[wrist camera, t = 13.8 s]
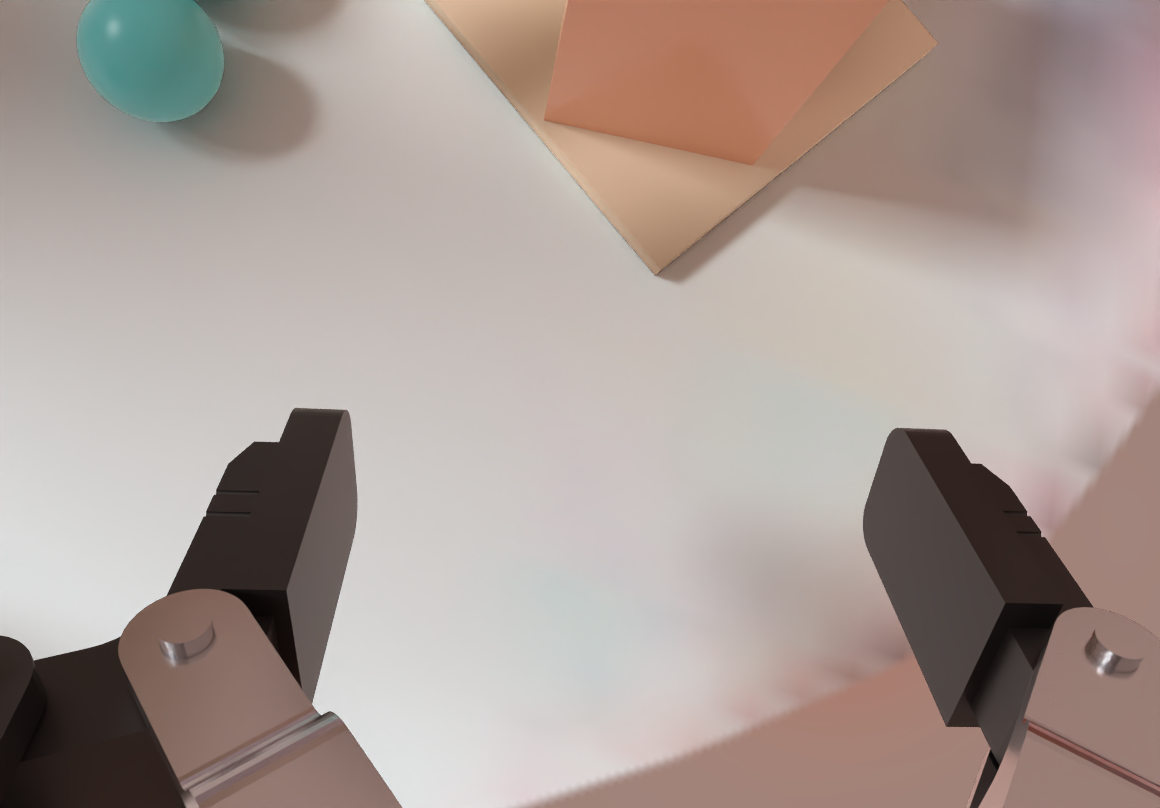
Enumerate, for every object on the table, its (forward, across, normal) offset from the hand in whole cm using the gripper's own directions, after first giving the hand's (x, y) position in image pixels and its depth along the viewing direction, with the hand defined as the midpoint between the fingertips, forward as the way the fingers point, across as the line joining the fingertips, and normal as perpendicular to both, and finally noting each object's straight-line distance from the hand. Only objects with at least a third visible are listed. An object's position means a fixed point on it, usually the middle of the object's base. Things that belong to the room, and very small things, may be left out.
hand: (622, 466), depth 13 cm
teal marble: (+12, -10, +2) cm, 16 cm away
